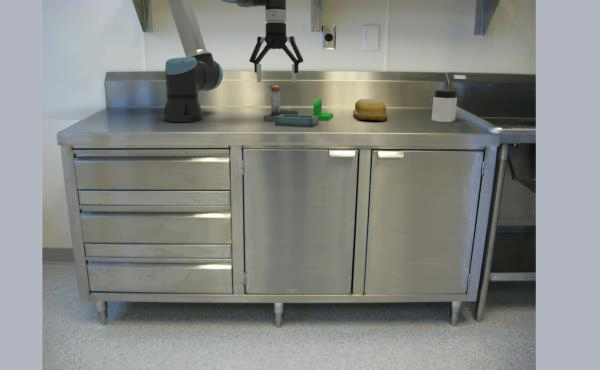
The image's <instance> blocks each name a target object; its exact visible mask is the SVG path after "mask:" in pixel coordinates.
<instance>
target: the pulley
mask: <svg viewBox="0 0 600 370" xmlns="http://www.w3.org/2000/svg"><path fill="white" fill-rule="evenodd" d="M291 108H292V107H291V106H289V105H288V106H287V105H286V106H283V108H282V109H280V114H291V115H299V111H298V110H296V109H295V110H293V109H291Z"/></svg>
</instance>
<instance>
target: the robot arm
mask: <svg viewBox="0 0 600 370" xmlns="http://www.w3.org/2000/svg"><path fill="white" fill-rule="evenodd" d="M191 1H192V0H167V3H168V6H169V9H170V12H171V15H172V18H173V21H174V24H175V26H176V28H175V29H176V30H177V34H178V35H179V39H180V43H181V46H182V49H183V52H184V55H185V56H183V57H174V58H169V59H167V60H166V61H165V63H164V64H165V66H164V68H165V69H164V72H165V88H166V102H165V106H164V110H163V114H162V120H163V121H164V122H169V123H170V122H172V123H194V122H201V121H203V120H204V112H203V110H202V107H201V104H200V102H199V92H203V91H204V92H209V91H212V90H216V89H217V88H218V87H220V85H221V84H222V81H223V77H224V72H223V71H224V70H223V68H222V66H221V65H220V63H218V62H217V61H215V59H214V57H213V54H212V52H211V51H208V50H207V48H206V45H205V42H204V39H203V35H202V33H201V29H200V26H199V22H198V19H197V17H196V16H197V15H196V14H195V11H194V8H193V3H192V2H191ZM221 1H222V2H224V3H227V4H236V5H237V6H238V7H240V8H251V7H265V9H264V10H265V13H264V14H265V22H266V23H265V37H264V36H263V37H262V36H257V38H256V44H255V46H254V49H253V51H252V53H251V55H250V57H249V62H250V63H251V64H253V65H254V73H255V74H256V82H257V83H262V64H261V61H262V60H263V58H265V56H266V55H267V54H268V52H269V51H270V50H282V51H284V53H285V54H286V55H287V57H289V59H290V60H291V61H292V64H291V83H296V82H297V74H298V73H299V65H300V63H301V64H302V63H304V59H303V56H302V54H301V51H300V50H299V47H298V46H297V43H296V38H295V37H296V36H294V35H291V36H287V24H286V22H287V0H221ZM264 42H265V43H266V44H265V46H264V47H263V49H262V51H261V52H260V49H261V47H262V46H263V43H264ZM287 42H289V43H290V46H291V47H292V49H293V52H294V54H295V55H294V54H293V52H292V51H291V50H290V49H289V47H288V45H286V44H287ZM259 52H260V53H259Z"/></svg>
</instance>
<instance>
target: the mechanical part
mask: <svg viewBox="0 0 600 370" xmlns="http://www.w3.org/2000/svg"><path fill="white" fill-rule="evenodd" d="M322 105H323V104H322V100H321V99H314V101H313V108H312V109H313V113H312V115H313V116H318V122H319V121H320V122H322V121H323V122H329V121H330V120H332V119H333V118H334V113H332V112H322Z"/></svg>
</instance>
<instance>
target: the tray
mask: <svg viewBox="0 0 600 370" xmlns="http://www.w3.org/2000/svg"><path fill="white" fill-rule="evenodd" d="M274 123H275V124H274V126H280V127H282V126H284V127H297V128H299V127H301V128H302V127H303V128H314V127H315V126H317V125H319V121H318V116H313V114H312V115H311V114H308V115H307V114H298V115H291V114H282V115H279V116H276V117H275V122H274Z"/></svg>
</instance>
